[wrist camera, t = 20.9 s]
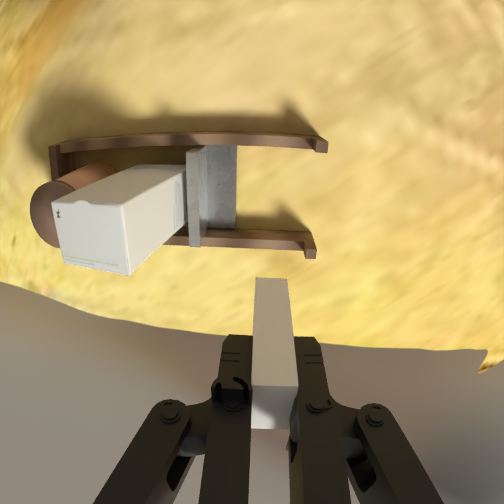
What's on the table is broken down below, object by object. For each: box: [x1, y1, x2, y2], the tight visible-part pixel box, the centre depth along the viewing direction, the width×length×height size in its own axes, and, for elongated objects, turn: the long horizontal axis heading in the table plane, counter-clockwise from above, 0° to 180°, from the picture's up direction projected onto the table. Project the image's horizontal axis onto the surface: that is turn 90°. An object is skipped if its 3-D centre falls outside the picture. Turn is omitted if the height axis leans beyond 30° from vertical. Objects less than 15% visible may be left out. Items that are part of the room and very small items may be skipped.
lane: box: [48, 132, 328, 259], centre depth 36 cm, size 33×13×5 cm, turn 88°
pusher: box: [186, 145, 237, 247], centre depth 35 cm, size 5×10×6 cm, turn 178°
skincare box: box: [51, 164, 188, 276], centre depth 31 cm, size 8×7×16 cm
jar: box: [30, 161, 117, 248], centre depth 34 cm, size 7×7×11 cm
